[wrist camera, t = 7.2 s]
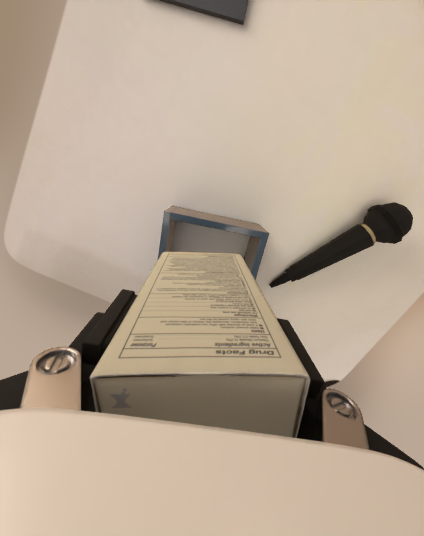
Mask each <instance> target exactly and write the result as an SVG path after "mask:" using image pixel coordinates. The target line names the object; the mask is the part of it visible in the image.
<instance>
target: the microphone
mask: <svg viewBox="0 0 424 536" xmlns="http://www.w3.org/2000/svg"><path fill="white" fill-rule="evenodd" d="M412 221H413V217H412V214H411V212H410V211H409V210H408V209H407V207H405V206H403V205H401V204H398V203H389V204H384V205H381V206H380V205H376V206H373V207H371V208H370V209H368V213H367V215H366V216H365V218H364V222H363V224H358V225H356V226H354V227H353V228H351V229H350V230H348V231H346V232H345V233H343V234H342V235H340V236H338V237H337V238H335V239H334V240H332V241H330V242H329V243H327V244H326V245H324V246H322V247H321V248H319V249H318V250H316V251H315V252H313V253H311V254H310V255H308V256H307V257H305V258H303V259H302V260H300V261H299V262H297V263H295V264H294V265H292V266H291V267H290V268H289V269H288V270H286V273H285V274H283V275H282V276H280V277H279V278H277V279H276V280H275V281H273V282H272V283H271V284H270V286H271V288H272V287H275V286H278V285H281V284H283V283H286V282H288V281H290V280H291V281H292V282H293V281H295V280H297V279H298V280H299V279H301V278H304V277H306V276H308V275H310V274H312V273H314V272H317V271H319V270H321V269H323V268H325V267H327V266H330V265H332V264H334V263H336V262H338V261H340V260H343V259H345V258H347V257H349V256H351V255H353V254H356V253H358V252H360V251H362V250H364V249H366V248H369V247H371V246H373V245H374V243H375V241H377V242H382V243H393V244H395V243H398V242H400V241H402V237H403V236H404V235H406V234H407V233H408V232H409V230H410V229H411V226H412Z"/></svg>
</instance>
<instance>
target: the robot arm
mask: <svg viewBox="0 0 424 536" xmlns="http://www.w3.org/2000/svg"><path fill="white" fill-rule="evenodd" d="M137 296H138V295H135V292H134V291H129V290H124V289H123V290H122V291H121V292H120V293H119V295H118V296H117V297H116V299H115V300H114V301H113V303H112V304H111V305H110V307H109V308H108V309H107V310H106V312H105V313H100V312H98V313H96V314H95V315H94V317H93V318H92V319H91V320H90V321H89V323H88V324H87V325H86V326H85V327H84V329H83V330H82V331H81V332H80V334H79V335H78V336H77V337H76V338H75V340H74V341H73V342H72V343H71V345H70V346H69V347H56V348H51V349H48V350H46V351H43V352H42V353H40V354H39V355H37V356H36V357H35V358H34V359H33V361H32V363H31V364H30V368H29V371H26V372H23V373H20V374H17V375H14V376H11V377H9V378H6V379H3V380H0V536H424V468H423V467H422V466H421V465H419V464H418V463H417V462H416V461H415V460H413V459H412V458H410V457H409V456H407V455H406V454H405V453H404V452H402V451H401V450H399V449H398V448H397V447H395V446H394V445H392V444H391V443H390V442H388V441H387V440H386V439H384V438H383V437H381V436H380V435H379V434H377V433H376V432H374V431H373V430H372V429H370V428H369V427H367V426H366V425H365V424H364V422H363V417H362V413H361V411H360V409H359V407H358V406H357V404H356V403H355V402H354V401H353V400H352V399H351V398H349V397H348V396H347V395H345V394H344V393H342V392H340V391H338V390H335V389H326V387H325V385H324V384H323V383H324V380H323V379H322V377H321V375H320V373H319V372H318V370H317V368H316V367H315V365H314V363H313V362H312V360H311V358H310V356H309V355H308V353H307V351H306V350H305V348H304V346H303V345H302V343H301V341H300V339H299V338H298V336H297V334H296V333H295V331H294V329H293V328H292V326H291V324H290V322H289V321H288V320H284V319H278V318H277V320H278V322H279V324H280V326H281V327H282V329H283V331H284V333H285V335H286V336H287V338H288V340H289V341H290V343H291V345H292V347H293V349H294V350H295V352H296V354H297V356H298V358H299V359H300V361H301V363H302V365H303V366H304V368H305V370H306V371H307V373H308V375H309V377H310V384H309V389H308V393H307V397H306V401H305V406H304V410H303V414H302V418H301V422H300V426H299V430H298V434H297V438H291V437H284V436H277V435H270V434H263V433H255V432H248V431H240V430H233V429H226V428H218V427H210V426H203V425H195V424H188V423H180V422H172V421H164V420H156V419H148V418H140V417H132V416H125V415H117V414H107V413H98V412H96V409H95V405H94V399H93V392H92V386H91V382H90V376H91V374H92V372H93V371H94V369H95V367H96V366H97V364H98V362H99V361H100V359H101V357H102V355H103V354H104V352H105V350H106V349H107V347H108V345H109V344H110V342H111V340H112V339H113V337H114V335H115V333H116V332H117V330H118V328H119V327H120V325H121V323H122V321H123V320H124V318H125V316H126V314H127V313H128V311H129V309H130V307H131V306H132V304H133V302H134V301H135V299H136V297H137Z"/></svg>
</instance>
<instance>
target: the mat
mask: <svg viewBox="0 0 424 536" xmlns="http://www.w3.org/2000/svg"><path fill="white" fill-rule="evenodd" d="M161 1H165V2H168V3H172V4H175V5H178V6H182V7H185V8H189V9H192V10H195V11H199V12H202V13H206V14H209V15H212V16H216V17H219V18H223V19H226V20H229V21H233V22H236V23H240V24H243V23H244V19H245V14H246V9H247V4H248V0H161Z"/></svg>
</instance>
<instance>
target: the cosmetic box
mask: <svg viewBox="0 0 424 536" xmlns="http://www.w3.org/2000/svg"><path fill="white" fill-rule="evenodd" d="M90 382H91V386H92V392H93V399H94V405H95V409H96V412H98V413H107V414H117V415H125V416H132V417H140V418H148V419H156V420H164V421H172V422H180V423H188V424H195V425H203V426H210V427H218V428H226V429H233V430H240V431H248V432H255V433H263V434H270V435H277V436H284V437H291V438H297V434H298V430H299V426H300V422H301V418H302V414H303V410H304V406H305V401H306V397H307V393H308V389H309V384H310V377H309V375H308V373H307V371H306V370H305V368H304V366H303V365H302V363H301V361H300V359H299V358H298V356H297V354H296V352H295V350H294V349H293V347H292V345H291V343H290V341H289V340H288V338H287V336H286V335H285V333H284V331H283V329H282V327H281V326H280V324H279V322H278V320H277V318H276V317H275V315H274V313H273V311H272V310H271V308H270V306H269V304H268V302H267V301H266V299H265V297H264V295H263V293H262V292H261V290H260V288H259V286H258V284H257V283H256V281H255V279H254V277H253V275H252V274H251V272H250V270H249V268H248V267H247V265H246V263H245V261H244V259H243V258H242V256H241V255H240V254H229V253H205V252H163V253H162V254H161V256H160V257H159V259H158V261H157V263H156V264H155V266H154V268H153V270H152V272H151V273H150V275H149V277H148V278H147V280H146V282H145V283H144V285H143V287H142V289H141V290H140V292H139V294H138V296H137V297H136V299H135V301H134V302H133V304H132V306H131V307H130V309H129V311H128V313H127V314H126V316H125V318H124V320H123V321H122V323H121V325H120V327H119V328H118V330H117V332H116V333H115V335H114V337H113V339H112V340H111V342H110V344H109V345H108V347H107V349H106V350H105V352H104V354H103V355H102V357H101V359H100V361H99V362H98V364H97V366H96V367H95V369H94V371H93V372H92V374H91V376H90Z"/></svg>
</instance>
